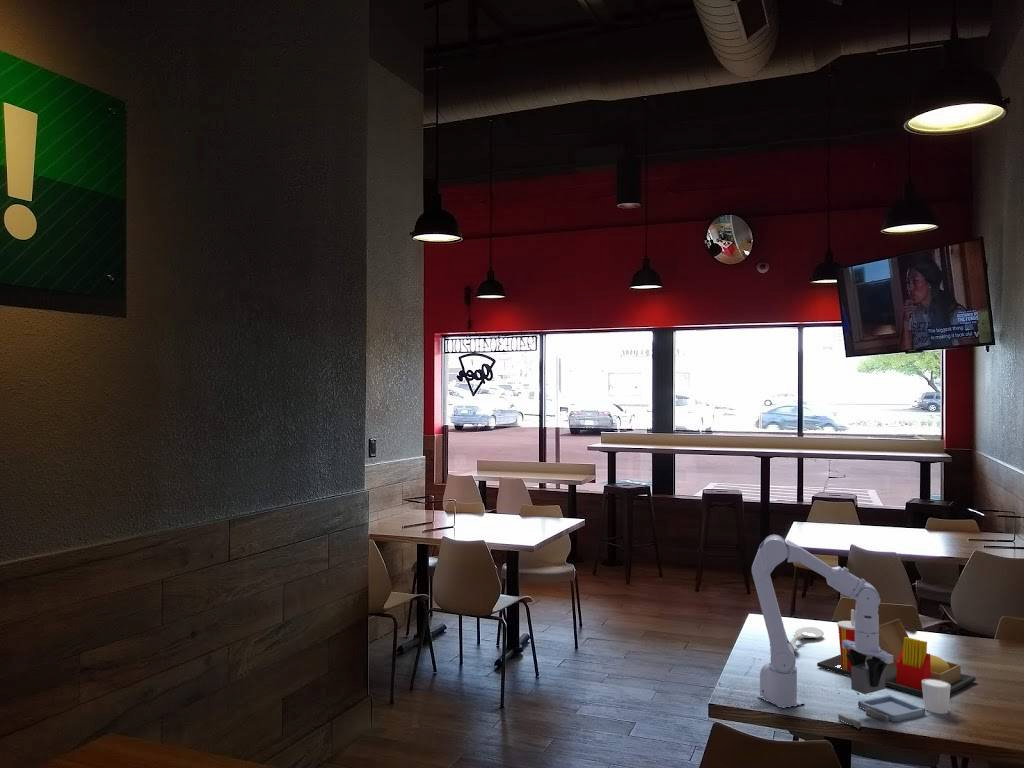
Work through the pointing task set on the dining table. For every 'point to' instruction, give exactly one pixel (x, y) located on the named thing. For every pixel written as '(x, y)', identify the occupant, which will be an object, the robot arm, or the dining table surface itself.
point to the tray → (892, 707)
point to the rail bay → (868, 711)
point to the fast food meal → (900, 659)
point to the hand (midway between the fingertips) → (867, 683)
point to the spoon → (799, 635)
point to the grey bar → (864, 679)
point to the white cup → (936, 695)
